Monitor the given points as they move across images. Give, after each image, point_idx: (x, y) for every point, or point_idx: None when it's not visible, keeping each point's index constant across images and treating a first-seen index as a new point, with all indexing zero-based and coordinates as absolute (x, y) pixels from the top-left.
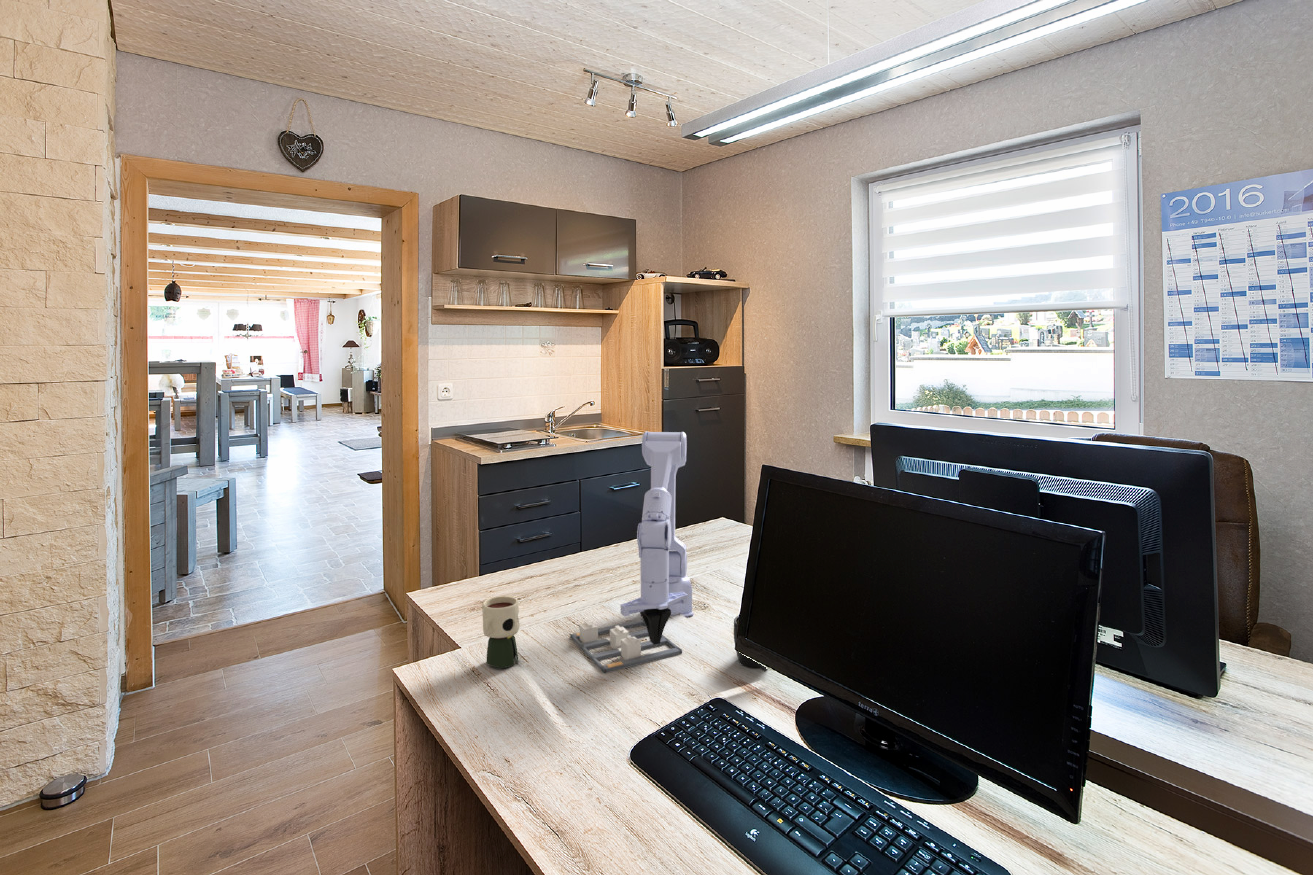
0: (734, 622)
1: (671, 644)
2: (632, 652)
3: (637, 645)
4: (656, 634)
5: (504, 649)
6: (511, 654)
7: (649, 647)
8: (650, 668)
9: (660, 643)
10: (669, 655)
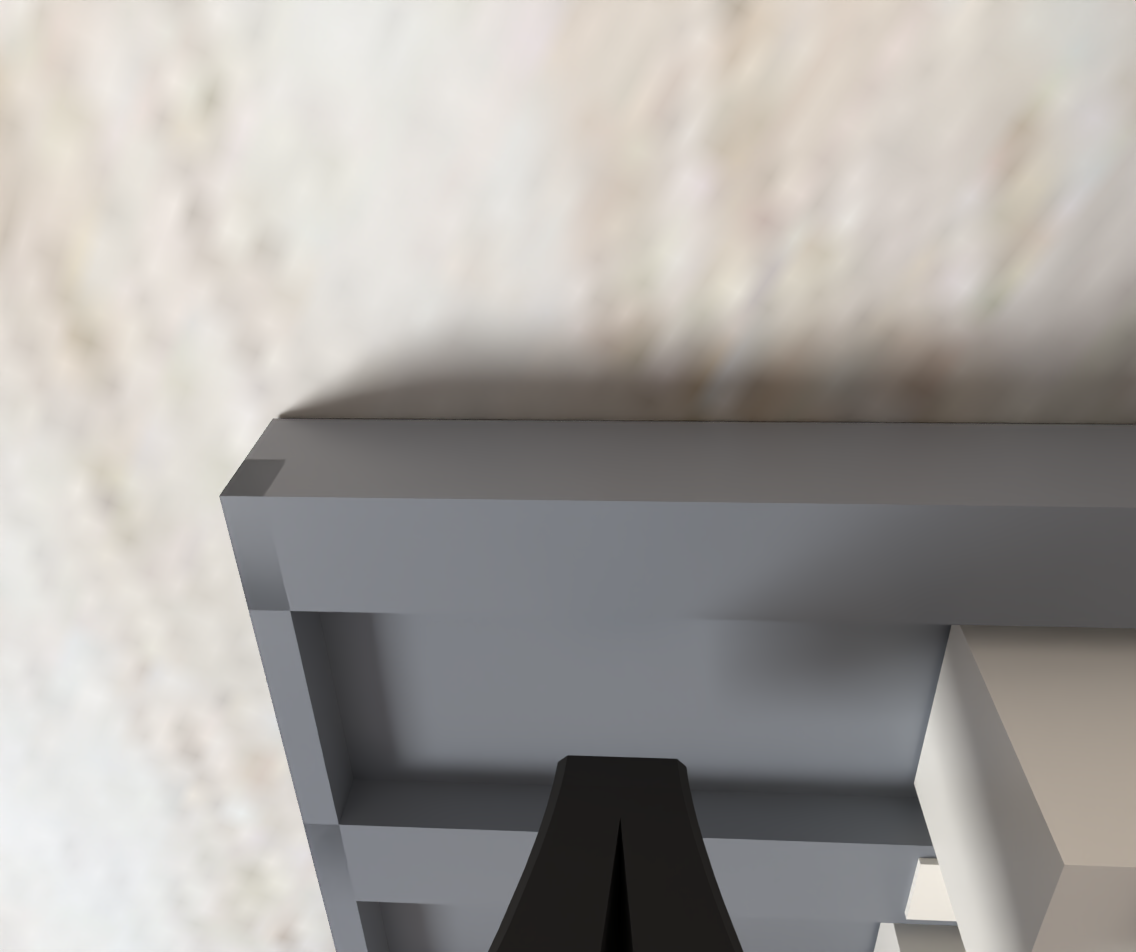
0: None
1: (320, 719)
2: None
3: (1125, 812)
4: (669, 929)
5: None
6: None
7: None
8: (903, 369)
9: (457, 808)
10: (494, 473)
